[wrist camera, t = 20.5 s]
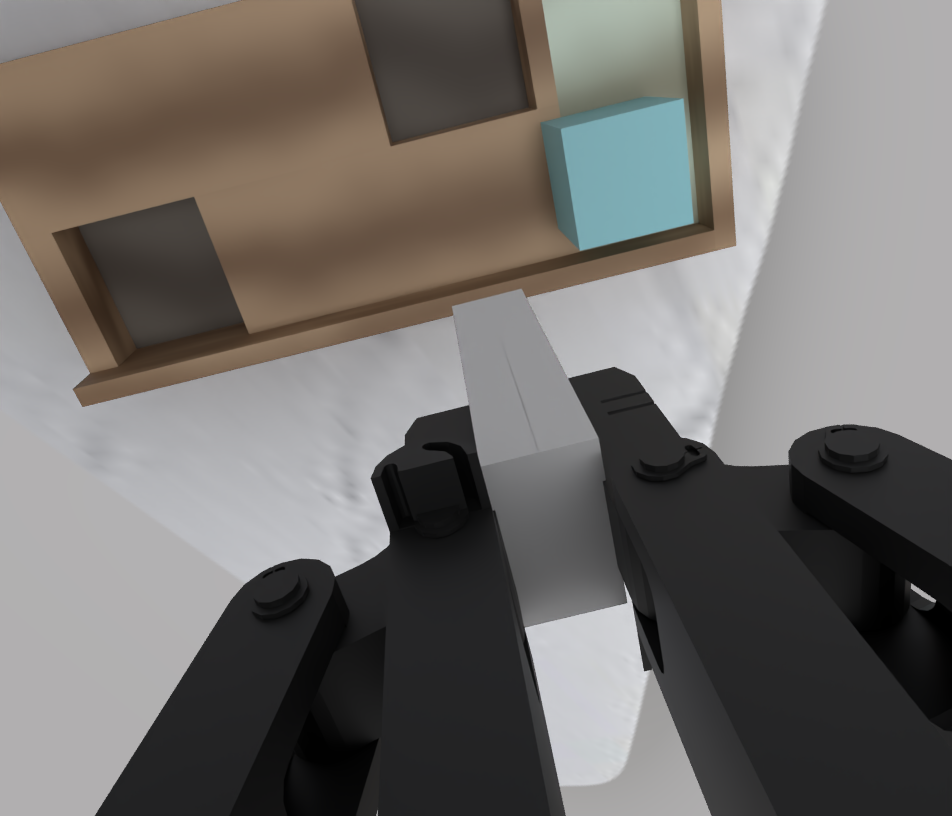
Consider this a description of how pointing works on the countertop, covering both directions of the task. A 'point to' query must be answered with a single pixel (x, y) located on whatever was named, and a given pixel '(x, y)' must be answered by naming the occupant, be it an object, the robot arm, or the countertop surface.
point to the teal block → (619, 170)
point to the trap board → (331, 169)
